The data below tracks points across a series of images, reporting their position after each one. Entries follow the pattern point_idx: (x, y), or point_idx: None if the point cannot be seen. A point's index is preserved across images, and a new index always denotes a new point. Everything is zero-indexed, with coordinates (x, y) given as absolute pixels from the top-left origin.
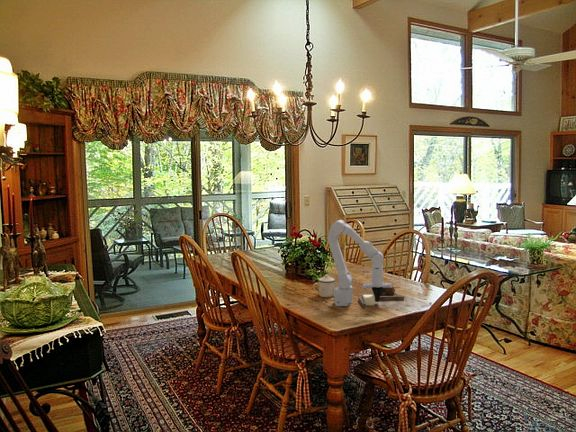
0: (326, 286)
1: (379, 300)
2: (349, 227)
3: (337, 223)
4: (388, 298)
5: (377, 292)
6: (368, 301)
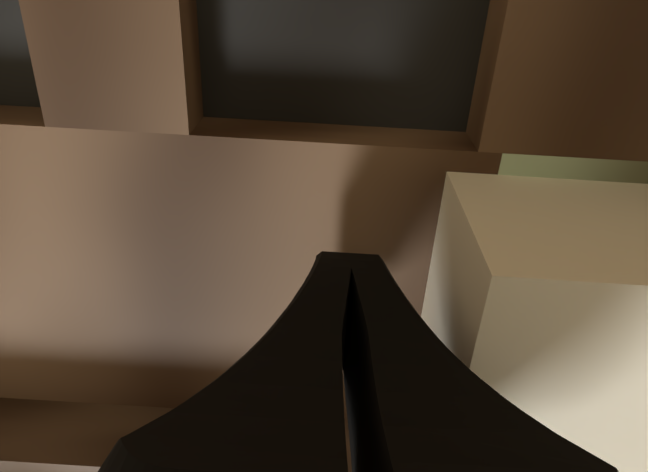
0: None
1: None
2: None
3: None
4: (61, 430)
5: (394, 410)
6: (634, 221)
